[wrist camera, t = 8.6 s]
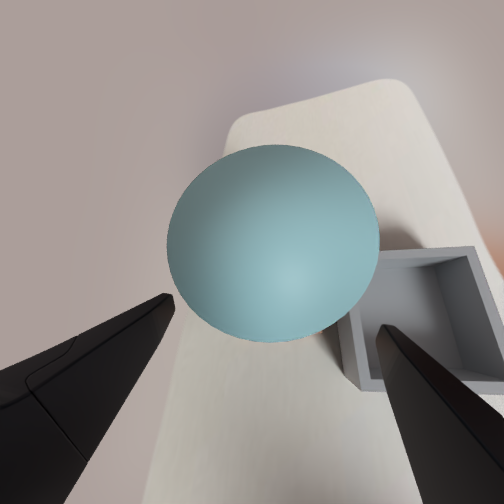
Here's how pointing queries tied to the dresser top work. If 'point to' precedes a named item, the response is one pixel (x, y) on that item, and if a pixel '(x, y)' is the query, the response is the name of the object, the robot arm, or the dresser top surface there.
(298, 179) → the teal post
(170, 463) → the dresser top surface
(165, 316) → the robot arm
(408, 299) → the slate tray
